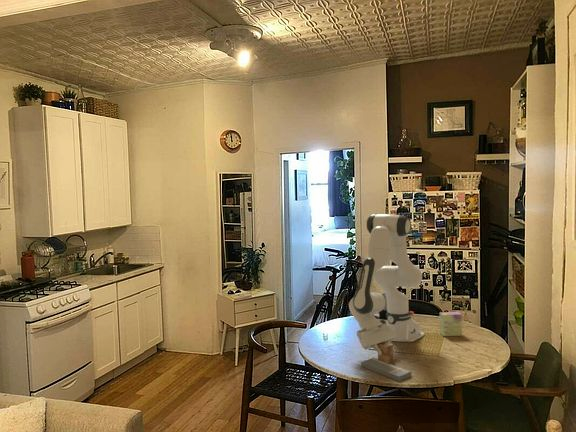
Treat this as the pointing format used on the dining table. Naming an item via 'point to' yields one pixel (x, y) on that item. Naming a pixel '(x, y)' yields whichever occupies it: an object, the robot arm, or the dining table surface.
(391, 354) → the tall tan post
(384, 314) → the milk frother
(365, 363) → the board
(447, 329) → the box
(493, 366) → the dining table surface
